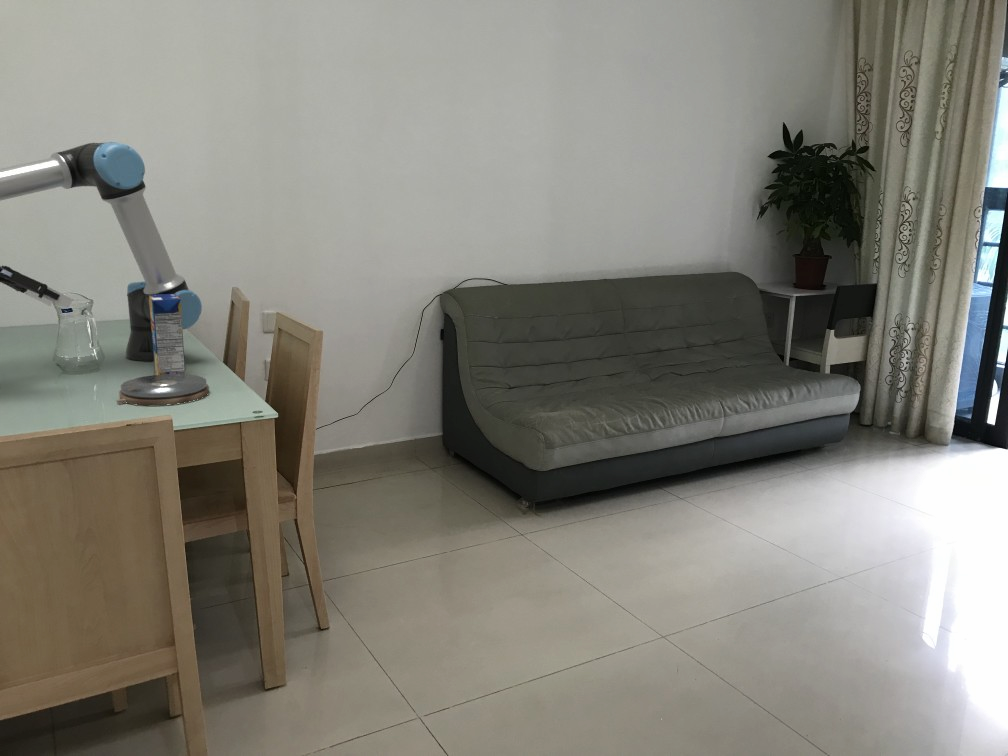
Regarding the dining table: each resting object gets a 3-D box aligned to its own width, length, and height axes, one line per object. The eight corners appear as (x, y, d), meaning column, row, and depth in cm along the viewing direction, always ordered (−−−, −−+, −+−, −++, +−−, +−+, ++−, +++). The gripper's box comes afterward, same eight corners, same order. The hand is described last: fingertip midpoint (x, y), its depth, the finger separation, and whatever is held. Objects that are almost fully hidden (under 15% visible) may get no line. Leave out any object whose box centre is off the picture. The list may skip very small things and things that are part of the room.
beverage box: (158, 380, 219) (152, 300, 214) (154, 372, 229) (148, 294, 224) (185, 378, 223) (180, 299, 217) (180, 370, 232) (175, 293, 227)
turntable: (179, 375, 219) (178, 370, 219) (222, 388, 207) (222, 382, 207) (105, 389, 204) (105, 383, 203) (148, 403, 192) (148, 397, 191)
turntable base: (180, 380, 220) (179, 375, 220) (225, 394, 208) (225, 388, 207) (96, 396, 202) (95, 390, 202) (140, 412, 190) (140, 406, 190)
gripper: (-46, 272, 201) (38, 312, 216) (-20, 275, 184) (70, 318, 199) (-31, 246, 203) (52, 287, 218) (-4, 246, 186) (85, 291, 200)
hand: (61, 302), depth 208 cm, fingers open, 13 cm apart
